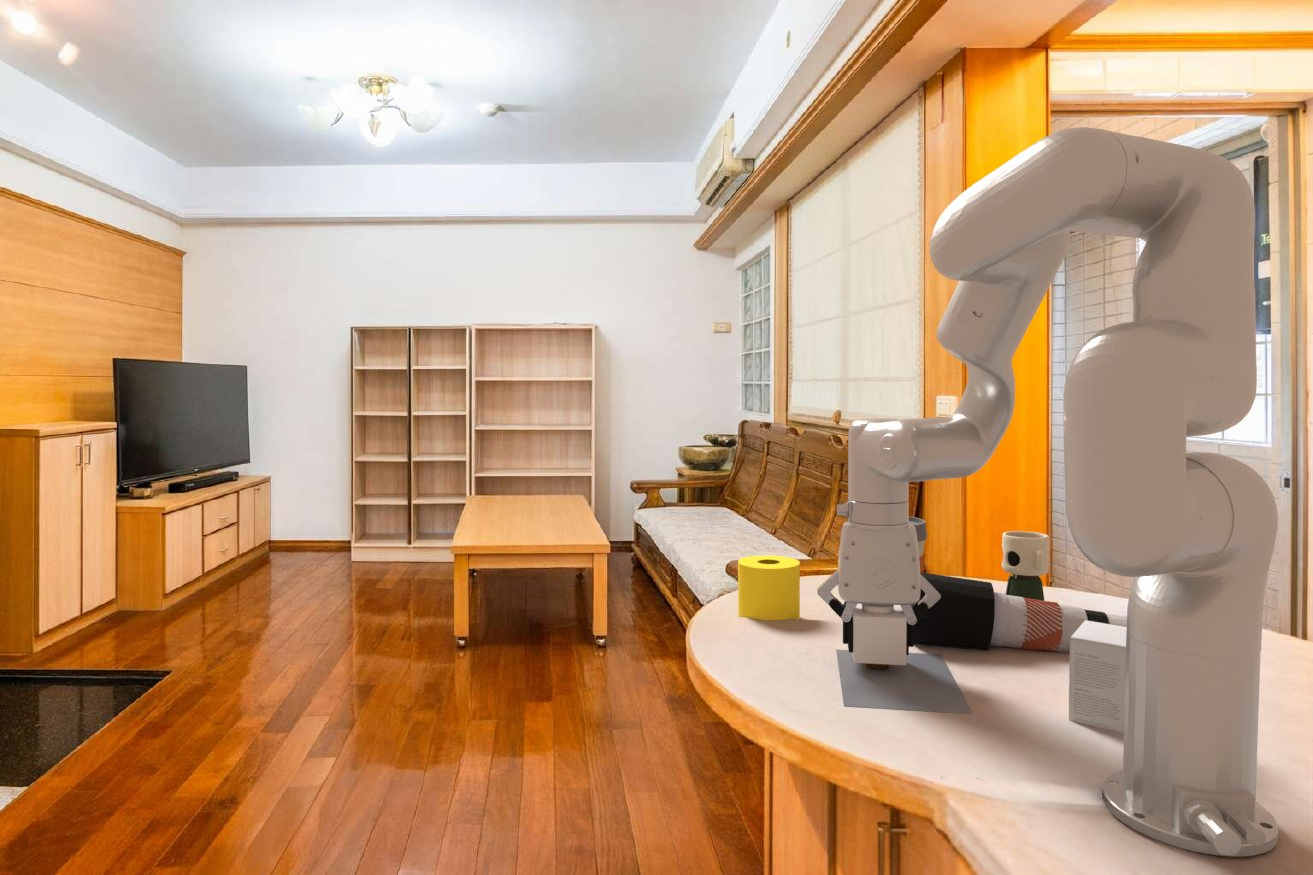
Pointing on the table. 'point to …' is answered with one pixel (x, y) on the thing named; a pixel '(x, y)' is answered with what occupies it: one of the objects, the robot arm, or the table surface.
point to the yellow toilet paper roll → (769, 587)
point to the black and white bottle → (998, 618)
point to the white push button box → (879, 634)
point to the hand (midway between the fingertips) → (877, 649)
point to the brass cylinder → (877, 666)
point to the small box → (1097, 675)
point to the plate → (901, 685)
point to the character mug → (1025, 562)
